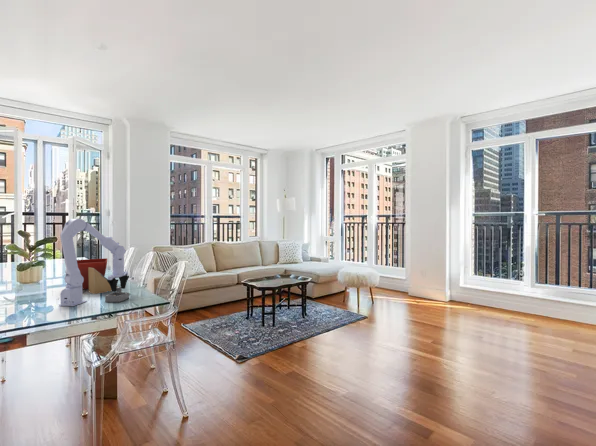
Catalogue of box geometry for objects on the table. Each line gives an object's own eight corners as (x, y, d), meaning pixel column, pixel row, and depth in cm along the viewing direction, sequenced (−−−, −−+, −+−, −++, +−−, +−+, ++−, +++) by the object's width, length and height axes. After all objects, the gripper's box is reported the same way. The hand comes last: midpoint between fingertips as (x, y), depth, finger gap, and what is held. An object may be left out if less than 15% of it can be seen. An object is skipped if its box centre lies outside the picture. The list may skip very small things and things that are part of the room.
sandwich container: (121, 289, 204) (121, 265, 204) (94, 294, 192) (94, 268, 191) (115, 287, 209) (115, 264, 209) (88, 292, 197) (88, 267, 197)
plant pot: (73, 285, 213) (73, 259, 213) (107, 282, 222) (107, 258, 222) (69, 292, 196) (69, 263, 196) (106, 288, 205) (106, 261, 205)
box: (119, 302, 174) (119, 296, 174) (105, 302, 175) (105, 295, 175) (128, 298, 182) (128, 292, 182) (115, 298, 183) (115, 291, 183)
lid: (120, 298, 183) (120, 289, 183) (106, 297, 185) (106, 289, 185) (130, 294, 192) (130, 286, 192) (117, 293, 193) (117, 285, 193)
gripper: (116, 268, 180) (116, 293, 181) (132, 264, 195) (133, 287, 195) (104, 268, 181) (104, 292, 181) (121, 264, 195) (122, 287, 196)
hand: (118, 290), depth 188 cm, fingers open, 7 cm apart
